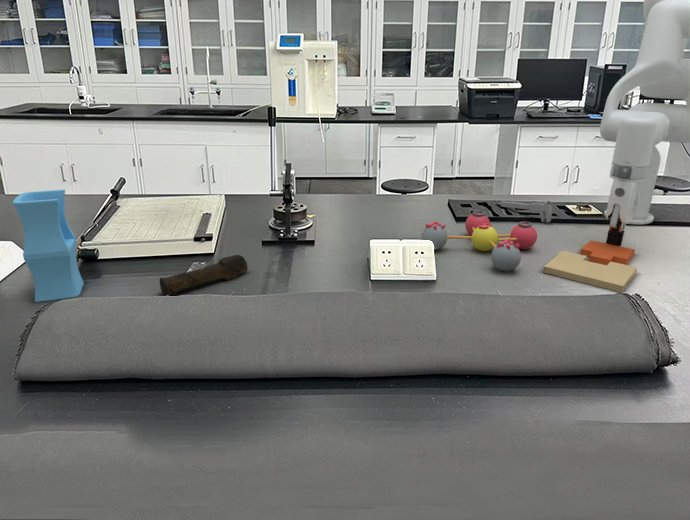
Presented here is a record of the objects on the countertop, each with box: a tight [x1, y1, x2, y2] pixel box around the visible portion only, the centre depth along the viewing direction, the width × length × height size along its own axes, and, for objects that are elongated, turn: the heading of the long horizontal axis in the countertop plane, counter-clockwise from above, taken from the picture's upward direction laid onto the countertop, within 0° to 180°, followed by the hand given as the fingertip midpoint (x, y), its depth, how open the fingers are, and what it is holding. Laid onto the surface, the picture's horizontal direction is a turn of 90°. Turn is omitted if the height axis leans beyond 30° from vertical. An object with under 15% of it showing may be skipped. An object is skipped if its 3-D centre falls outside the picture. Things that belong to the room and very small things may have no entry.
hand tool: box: [159, 254, 248, 296], centre depth 110 cm, size 19×4×5 cm, turn 127°
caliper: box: [497, 200, 553, 223], centre depth 154 cm, size 20×1×6 cm, turn 27°
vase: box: [12, 189, 84, 303], centre depth 104 cm, size 8×8×20 cm
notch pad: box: [543, 250, 638, 293], centre depth 116 cm, size 12×16×2 cm
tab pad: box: [579, 240, 636, 266], centre depth 124 cm, size 11×10×2 cm
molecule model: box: [420, 210, 538, 272], centre depth 127 cm, size 25×21×6 cm
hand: (613, 245), depth 129 cm, fingers closed
